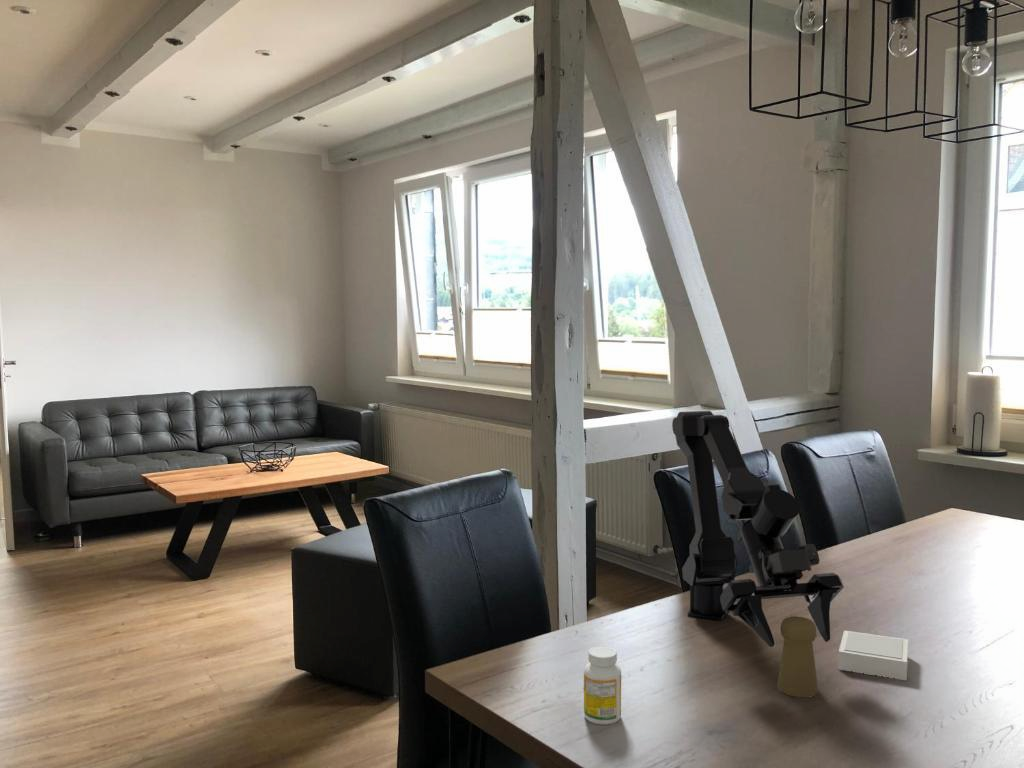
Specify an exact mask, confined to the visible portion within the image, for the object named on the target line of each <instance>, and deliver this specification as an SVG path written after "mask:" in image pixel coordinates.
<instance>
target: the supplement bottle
mask: <svg viewBox="0 0 1024 768" xmlns="http://www.w3.org/2000/svg"><path fill="white" fill-rule="evenodd" d="M617 656H618V655H617V650H615V649H614V648H611V647H607V646H595V647H594V646H593V647H591V648H590V649H589V650H588V657H587V659H588V663H587V664H586V665H585V666H584V668H583V669H584V670H583V713H584V717H585V719H586V720H587V721H589V722H591V723H592V724H595V725H601V726H603V725H604V726H605V725H611V724H615V723H617V722H618V721H619V720H620V719H621V716H622V670H621V667H620V666H619V665H618V664H617V660H618V657H617Z"/></svg>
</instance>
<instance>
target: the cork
mask: <svg viewBox="0 0 1024 768" xmlns="http://www.w3.org/2000/svg"><path fill="white" fill-rule="evenodd" d="M780 635H781V636H782V638H783V645H782V650H781V651H782V652H781V658H780V664H779V665H780V666H779V670H778V671H779V672H778V678H777V683H776V684H777V685H776V688H777V690H778V691H779V692H781V693H782V692H783V693H782V694H784V693H785V694H784V695H786V694H787V695H786V696H789V695H790V697H793V696H795V697H794V698H800V697H807V698H810V697H809V696H813V695H815V696H817V694H819V689H818V687H819V685H818V680H817V670H816V663H815V662H816V659H815V654H814V652H815V651H814V647H813V646H814V645H813V642H814V641H815V640H816V637H817V626H816V624H815V622H814V621H812V620H811V619H809V618H807V617H804V616H799V615H797V616H794V615H793V616H788V617H785V618H784V619H782V621H781V624H780ZM796 696H797V697H796ZM813 697H814V696H813Z"/></svg>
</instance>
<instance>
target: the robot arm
mask: <svg viewBox="0 0 1024 768" xmlns="http://www.w3.org/2000/svg"><path fill="white" fill-rule="evenodd" d="M676 415H677V416H675V417H674V418H673V419H672V423H671V424H672V425H671V427H672V428H671V429H672V433H673V434H674V435H675V436H674V437H675V440H676V445H677V447H678V448H679V449H680V450H681V451H682V454H683V455H685V457H686V461H687V469H688V477H689V478H688V479H689V485H690V494H691V501H692V509H693V510H692V511H693V517H694V526H695V527H694V528H695V534H694V536H693V538H692V539H691V542H690V544H689V549H688V550H689V556H688V557H687V559H686V561H685V563H684V564H683V566H682V567H681V568H682V569H681V572H682V573H681V574H682V579H683V581H685V582H686V583H687V584H689V598H690V599H689V610H688V611H687V616H691V617H697V618H704V619H711V620H712V619H713V620H718V621H721V620H723V618H724V617H725V615H727V614H728V613H729V612H731V613H732V616H734V617H739V618H740V619H741V620H742V621H743V622H744V623H746V624H747V625H748V626H749V628H751V629H752V630H753V631H754V632H755V633H756V634H757V635H758V636H759V637H760V638H761V639H762V640H763V641H764V642H765V644H767V646H768V647H770V648H773V647H774V646H775V640H774V637H773V633H772V630H771V628H770V626H769V623H768V620H767V618H766V616H765V613H764V610H763V604H762V600H766V599H767V600H771V599H779V598H780V599H781V598H795V597H804V599H805V601H806V602H807V603H808V606H806V607H807V610H808V612H809V614H810V616H811V618H812V620H813V623H814V624H815V626H816V629H817V630H818V632H819V634H820V636H821V638H822V639H823V641H824V642H825V643H827V642H829V641H831V621H830V620H831V619H830V617H831V616H830V611H831V610H830V609H831V602H833V600H834V599H835V598H836V597H837V596H838V595H839V593H840V592H841V591H842V590H844V588H845V586H844V584H843V581H842V579H841V577H840V576H839V575H838V574H836V573H835V572H826V573H814V574H813V575H812V576H811V578H809V580H808V581H807V582H802V583H798V581H797V580H801V579H802V578H803V576H804V575H803V572H805V571H808V572H811V571H812V567H814V566H817V565H819V563H820V557H819V552H818V550H817V548H816V546H815V545H814V543H810V544H803V545H800V546H799V547H798V549H791V550H790V549H789V548H788V547H787V548H784V546H783V543H782V541H781V538H780V537H783V536H784V535H785V534H786V533H787V532H788V529H790V527H791V525H792V524H793V522H794V521H795V520H796V518H797V517H798V515H799V514H800V510H801V506H800V503H799V500H798V499H796V498H795V496H793V495H792V494H791V493H789V492H788V491H785V490H783V489H781V486H780V484H778V483H777V484H767V485H765V483H764V481H763V480H762V479H761V478H760V477H759V476H757V475H756V474H754V473H752V472H751V471H750V470H749V468H748V466H747V464H746V460H745V459H744V457H743V455H742V453H741V450H739V447H738V444H737V442H736V441H735V439H734V436H733V433H732V432H731V429H730V420H729V418H728V417H727V416H725V415H723V414H714V413H713V412H712V411H711V410H695V411H694V410H693V411H679V412H678V413H677V414H676ZM714 465H715V467H716V469H717V472H718V475H719V477H720V479H721V481H722V484H723V488H722V492H721V496H720V498H721V501H722V508H723V511H724V513H725V514H726V515H727V517H728V518H729V520H733V521H745V522H744V523H743V525H742V526H740V530H739V533H738V535H737V542H738V543H743V544H744V548H745V550H746V552H747V555H748V559H749V562H750V565H749V566H748V570H749V573H750V574H754V575H755V578H756V581H757V582H758V586H757V585H756V584H757V583H756V582H755V581H754V580H753V579H751V578H747V579H736V575H737V569H738V565H739V564H738V559H737V556H736V552H735V546H734V545H735V544H734V540H733V538H732V537H731V536H727V534H726V533H725V532H724V530H723V529H722V524H721V515H720V509H719V508H720V507H719V501H718V493H717V484H716V476H715V469H714ZM746 520H747V521H746Z"/></svg>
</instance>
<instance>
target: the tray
mask: <svg viewBox="0 0 1024 768" xmlns="http://www.w3.org/2000/svg"><path fill="white" fill-rule="evenodd" d="M838 648H839V649H838V662H837V663H838V666H837V667H838V668H837V669H839V671H844V670H845V672H851V671H852V673H856V674H857V673H858V674H863V673H864V675H871V676H875V675H877V677H881V676H883V677H884V678H887V677H889V678H888V679H893V678H895V679H894V680H899V681H900V680H901V681H906V680H907V677H908V661H909V659H908V658H909V639H907V638H902V637H901V638H900V637H899V638H898V637H894V636H893V637H892V636H886V635H878V634H872V633H864V632H858V631H851V630H843V634H842V637H841V642H840V645H839V647H838Z"/></svg>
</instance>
